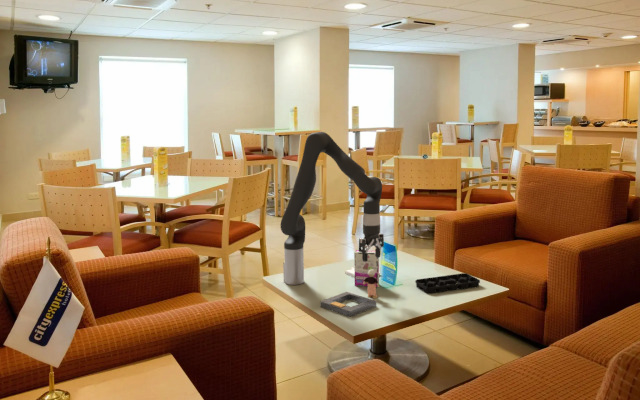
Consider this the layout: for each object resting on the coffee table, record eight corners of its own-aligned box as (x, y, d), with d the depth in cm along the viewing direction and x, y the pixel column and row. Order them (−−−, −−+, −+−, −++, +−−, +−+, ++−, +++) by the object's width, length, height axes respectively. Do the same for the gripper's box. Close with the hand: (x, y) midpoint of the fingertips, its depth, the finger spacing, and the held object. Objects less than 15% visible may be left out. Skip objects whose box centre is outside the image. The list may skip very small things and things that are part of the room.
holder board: (320, 306, 232) (320, 300, 231) (346, 297, 243) (346, 291, 243) (350, 317, 220) (350, 310, 219) (376, 306, 231) (376, 300, 231)
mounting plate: (342, 273, 280) (342, 269, 279) (362, 268, 286) (362, 265, 286) (363, 282, 265) (363, 278, 264) (384, 277, 271) (384, 273, 271)
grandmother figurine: (380, 295, 244) (380, 268, 242) (379, 298, 240) (379, 271, 238) (363, 294, 246) (363, 267, 244) (361, 297, 243) (362, 269, 240)
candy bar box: (379, 284, 260) (379, 250, 258) (377, 287, 256) (378, 253, 253) (356, 282, 263) (356, 249, 260) (354, 285, 258) (354, 252, 256)
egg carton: (484, 286, 256) (484, 279, 255) (436, 299, 241) (437, 291, 240) (456, 277, 271) (457, 269, 270) (410, 288, 255) (410, 280, 255)
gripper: (375, 219, 245) (375, 254, 248) (354, 224, 235) (354, 260, 238) (388, 221, 240) (388, 257, 243) (367, 227, 230) (367, 264, 233)
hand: (371, 259), depth 240 cm, fingers open, 8 cm apart
